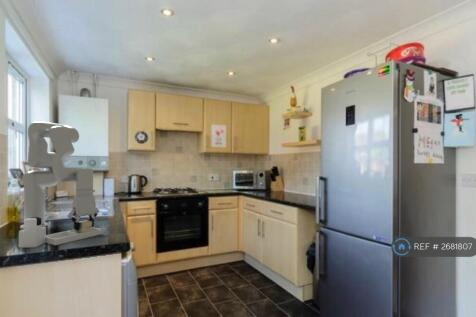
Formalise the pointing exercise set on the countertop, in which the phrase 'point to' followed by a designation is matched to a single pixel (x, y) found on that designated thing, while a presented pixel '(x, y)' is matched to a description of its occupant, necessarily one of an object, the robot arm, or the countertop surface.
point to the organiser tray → (70, 236)
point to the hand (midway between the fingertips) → (84, 228)
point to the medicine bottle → (32, 233)
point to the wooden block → (84, 226)
